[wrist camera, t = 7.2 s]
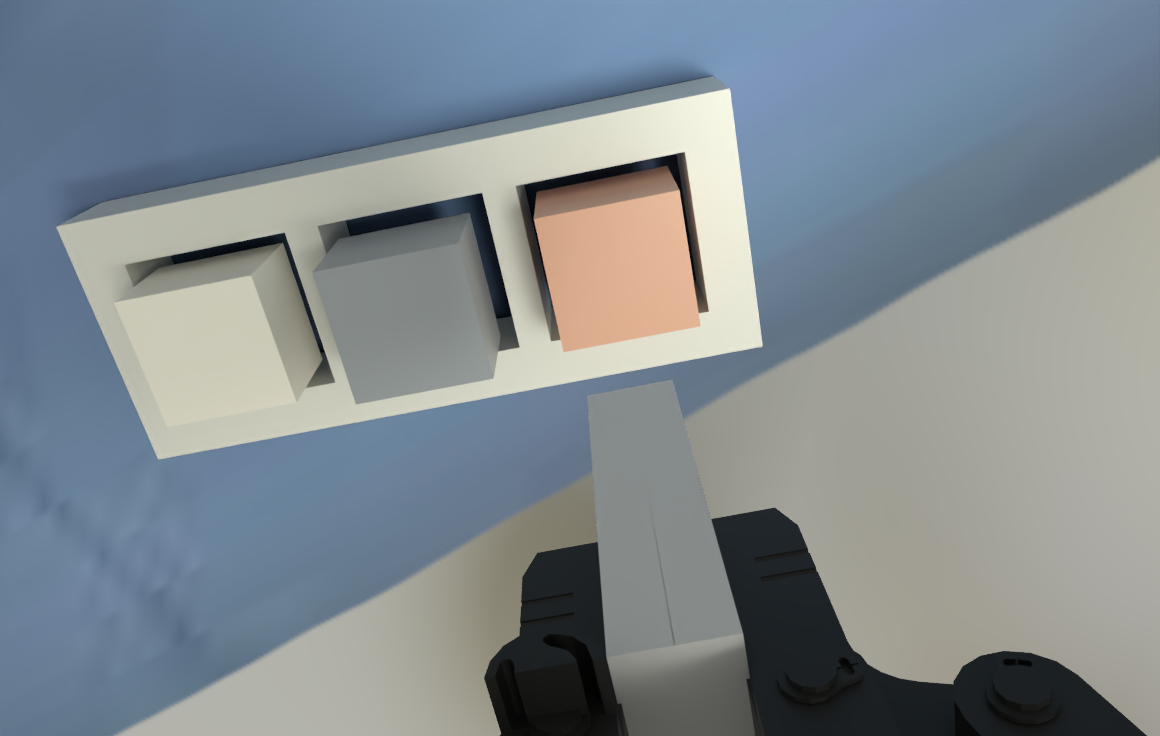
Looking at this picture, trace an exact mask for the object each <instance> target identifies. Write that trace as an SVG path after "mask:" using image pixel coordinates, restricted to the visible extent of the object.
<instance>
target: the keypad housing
mask: <svg viewBox="0 0 1160 736" xmlns="http://www.w3.org/2000/svg"><path fill="white" fill-rule="evenodd" d="M672 154H677V160H678V166H679V173H680V179H681V186H682V192H683V199H684V205H685V212H686V218H687V225H688V231H689V238H690V244H691V251H692V257H693V264H694V270H695V276H696V281H694V287H695V293H696V300H697V306H698V312H699V319H700V325H701V326H700V327H694V328H689V329H684V330H678V331H673V332H668V333H663V334H657V335H652V336H647V337H641V338H636V339H631V340H626V341H620V342H615V343H610V344H605V345H599V346H594V347H589V348H583V349H578V350H573V351H568V352H563V348H562V343H561V339H560V334H559V330H558V325H557V321H556V316H555V312H554V308H552V307H551V302H550V298H549V293H548V289H547V284H546V280H545V275H544V271H543V266H542V262H541V257H540V253H539V249H538V244H537V240H536V235H535V231H534V226H533V222H532V217H531V213H530V208H529V204H528V199H527V195H526V190H525V186H524V184H528V183H533V182H538V181H543V180H548V179H553V178H558V177H563V176H568V175H573V174H578V173H583V172H588V171H593V170H598V169H603V168H608V167H613V166H618V165H623V164H628V163H632V162H637V161H642V160H647V159H652V158H657V157H662V156H667V155H672ZM479 193H482V194H483V198H484V203H485V207H486V211H487V215H488V219H489V223H490V227H491V231H492V235H493V240H494V244H495V248H496V252H497V256H498V260H499V264H500V268H501V272H502V277H503V281H504V285H505V289H506V293H507V297H508V301H509V305H510V309H511V314H512V316H510V317H505V318H500V319H496V320H497V324H498V328H499V332H500V343H499V349H498V355H497V361H496V367H495V373H494V379H489V380H484V381H478V382H473V383H468V384H462V385H457V386H452V387H447V388H441V389H436V390H431V391H425V392H420V393H415V394H409V395H404V396H399V397H393V398H388V399H383V400H378V401H372V402H367V403H362V404H356V403H355V400H354V397H353V394H352V391H351V388H350V385H349V382H348V379H347V376H346V373H345V370H344V367H343V364H342V361H341V358H340V355H339V352H338V349H337V346H336V343H335V340H334V337H333V334H332V331H331V328H330V325H329V322H328V319H327V316H326V312H325V309H324V306H323V303H322V300H321V297H320V294H319V291H318V288H317V285H316V282H315V279H314V276H313V273H312V272H313V271H314V269H315V268H316V267H317V266H318V264H319V263H320V262H321V260H322V259H323V258H324V257H325V255H326V254H327V253H328V252H329V250H330V249H331V248H332V247H333V245H334V244H335V243H336V242H337V240H338V239H340V238H345V237H350V234H349V231H348V227H347V224H346V221H345V220H350V219H354V218H359V217H364V216H369V215H374V214H379V213H384V212H389V211H394V210H399V209H404V208H409V207H414V206H419V205H424V204H429V203H434V202H439V201H444V200H449V199H454V198H459V197H464V196H469V195H474V194H479ZM56 228H57V230H58V232H59V234H60V237H61V239H62V241H63V243H64V246H65V248H66V250H67V253H68V255H69V257H70V259H71V262H72V264H73V266H74V269H75V271H76V273H77V275H78V278H79V280H80V282H81V284H82V287H83V289H84V291H85V294H86V296H87V298H88V300H89V303H90V305H91V307H92V310H93V312H94V314H95V316H96V319H97V321H98V323H99V325H100V328H101V330H102V332H103V335H104V337H105V339H106V341H107V344H108V346H109V348H110V350H111V353H112V355H113V357H114V360H115V362H116V364H117V366H118V369H119V371H120V373H121V376H122V378H123V380H124V382H125V385H126V387H127V389H128V391H129V394H130V396H131V398H132V401H133V403H134V405H135V407H136V410H137V412H138V414H139V417H140V419H141V421H142V423H143V426H144V428H145V430H146V432H147V435H148V437H149V439H150V442H151V444H152V446H153V448H154V451H155V453H156V455H157V457H158V459H163V458H169V457H174V456H179V455H185V454H190V453H196V452H201V451H206V450H212V449H217V448H222V447H228V446H233V445H238V444H244V443H249V442H254V441H260V440H265V439H270V438H276V437H281V436H286V435H292V434H297V433H302V432H308V431H313V430H318V429H324V428H329V427H334V426H340V425H345V424H350V423H356V422H361V421H366V420H372V419H377V418H383V417H388V416H393V415H399V414H404V413H409V412H415V411H420V410H425V409H431V408H436V407H441V406H447V405H452V404H457V403H463V402H468V401H473V400H479V399H484V398H489V397H495V396H500V395H505V394H511V393H516V392H521V391H527V390H532V389H537V388H543V387H548V386H553V385H559V384H564V383H570V382H575V381H580V380H586V379H591V378H596V377H602V376H607V375H612V374H618V373H623V372H628V371H634V370H639V369H644V368H650V367H655V366H660V365H666V364H671V363H676V362H682V361H687V360H692V359H698V358H703V357H708V356H714V355H719V354H724V353H730V352H735V351H740V350H746V349H751V348H756V347H762V346H763V345H762V338H761V330H760V322H759V314H758V306H757V298H756V290H755V283H754V275H753V267H752V259H751V251H750V243H749V235H748V228H747V220H746V212H745V204H744V196H743V188H742V180H741V173H740V165H739V157H738V149H737V141H736V133H735V125H734V117H733V110H732V102H731V94H730V88H729V87H727V86H726V85H725V84H723V83H722V82H721V81H720V80H718V79H717V78H716V77H715V76H711V77H706V78H701V79H696V80H692V81H687V82H682V83H677V84H672V85H667V86H663V87H658V88H653V89H648V90H643V91H638V92H633V93H629V94H624V95H619V96H614V97H609V98H604V99H600V100H595V101H590V102H585V103H580V104H575V105H570V106H566V107H561V108H556V109H551V110H546V111H541V112H536V113H532V114H527V115H522V116H517V117H512V118H507V119H503V120H498V121H493V122H488V123H483V124H478V125H473V126H469V127H464V128H459V129H454V130H449V131H444V132H440V133H435V134H430V135H425V136H420V137H415V138H410V139H406V140H401V141H396V142H391V143H386V144H381V145H376V146H372V147H367V148H362V149H357V150H352V151H347V152H343V153H338V154H333V155H328V156H323V157H318V158H313V159H309V160H304V161H299V162H294V163H289V164H284V165H280V166H275V167H270V168H265V169H260V170H255V171H250V172H246V173H241V174H236V175H231V176H226V177H221V178H216V179H212V180H207V181H202V182H197V183H192V184H187V185H183V186H178V187H173V188H168V189H163V190H158V191H153V192H149V193H144V194H139V195H134V196H129V197H124V198H120V199H115V200H110V201H105V202H101V203H100V204H98V205H96V206H94V207H92V208H90V209H88V210H86V211H85V212H83V213H81V214H79V215H77V216H75V217H73V218H71V219H70V220H68V221H66V222H64V223H62V224H60V225H58V226H56ZM280 233H285V235H286V238H287V241H288V243H289V246H290V249H291V252H292V255H293V258H294V261H295V264H296V267H297V270H298V273H299V276H300V279H301V282H302V285H303V288H304V291H305V294H306V297H307V300H308V303H309V306H310V309H311V312H312V315H313V318H314V321H315V324H316V327H317V330H318V333H319V335H320V338H321V341H322V344H323V347H324V350H325V352H323V353H320V354H321V356H322V361H321V363H320V365H319V366H318V368H317V370H316V371H315V373H314V375H313V376H312V378H311V380H310V381H309V383H308V385H307V386H306V388H305V390H304V391H303V393H302V395H301V396H300V398H299V400H298V401H297V403H292V404H287V405H282V406H276V407H271V408H266V409H261V410H255V411H250V412H245V413H239V414H234V415H229V416H224V417H218V418H213V419H208V420H202V421H197V422H192V423H187V424H181V425H176V426H171V427H167V426H166V423H165V421H164V419H163V416H162V414H161V412H160V409H159V407H158V405H157V402H156V400H155V398H154V395H153V393H152V391H151V388H150V386H149V384H148V381H147V379H146V377H145V374H144V372H143V370H142V367H141V365H140V363H139V360H138V358H137V356H136V353H135V351H134V349H133V346H132V344H131V342H130V339H129V337H128V335H127V332H126V330H125V328H124V325H123V323H122V321H121V318H120V316H119V314H118V311H117V309H116V307H115V304H114V302H115V301H117V300H118V299H119V298H120V297H122V296H123V295H124V294H126V293H127V292H128V291H130V290H131V289H132V288H133V287H135V286H136V285H137V284H139V283H140V282H141V281H143V280H144V279H145V278H146V277H148V276H149V275H150V274H152V273H153V272H154V271H155V270H157V269H158V268H160V267H165V266H170V265H174V262H173V259H172V257H171V255H176V254H181V253H186V252H191V251H196V250H201V249H206V248H211V247H216V246H220V245H225V244H230V243H235V242H240V241H245V240H250V239H255V238H260V237H265V236H270V235H275V234H280Z"/></svg>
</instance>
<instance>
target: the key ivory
mask: <svg viewBox="0 0 1160 736" xmlns="http://www.w3.org/2000/svg"><path fill="white" fill-rule="evenodd" d="M114 304H115V307H116V309H117V311H118V314H119V316H120V318H121V321H122V323H123V325H124V328H125V330H126V332H127V335H128V337H129V339H130V342H131V344H132V346H133V349H134V351H135V353H136V356H137V358H138V360H139V363H140V365H141V367H142V370H143V372H144V374H145V377H146V379H147V381H148V384H149V386H150V388H151V391H152V393H153V395H154V398H155V400H156V402H157V405H158V407H159V409H160V412H161V414H162V416H163V419H164V421H165V423H166V426H167V427H171V426H176V425H181V424H187V423H192V422H197V421H202V420H208V419H213V418H218V417H224V416H229V415H234V414H239V413H245V412H250V411H255V410H261V409H266V408H271V407H276V406H282V405H287V404H292V403H297V401H298V400H299V398H300V396H301V395H302V393H303V391H304V390H305V388H306V386H307V385H308V383H309V381H310V380H311V378H312V376H313V375H314V373H315V371H316V370H317V368H318V366H319V365H320V363H321V361H322V356H321V354H320V351H319V348H318V345H317V342H316V339H315V336H314V333H313V330H312V327H311V324H310V321H309V318H308V315H307V312H306V309H305V306H304V303H303V300H302V298H301V295H300V292H299V289H298V286H297V283H296V280H295V277H294V274H293V271H292V268H291V265H290V262H289V259H288V256H287V253H286V250H285V247H284V245H283V243H279V244H274V245H269V246H264V247H259V248H254V249H249V250H244V251H239V252H234V253H229V254H224V255H219V256H214V257H209V258H204V259H199V260H194V261H189V262H184V263H180V264H175V265H170V266H165V267H160V268H158V269H157V270H155V271H154V272H153V273H152V274H150V275H149V276H148V277H146V278H145V279H144V280H143V281H141V282H140V283H139V284H137V285H136V286H135V287H133V288H132V289H131V290H130V291H128V292H127V293H126V294H124V295H123V296H122V297H120V298H119V299H118V300H117V301H115V302H114Z"/></svg>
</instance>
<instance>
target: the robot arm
mask: <svg viewBox="0 0 1160 736" xmlns="http://www.w3.org/2000/svg"><path fill="white" fill-rule="evenodd" d="M587 402H588V416H589V429H590V443H591V456H592V470H593V482H594V495H595V509H596V521H597V522H596V523H597V537H598V542H596V543H590V544H584V545H579V546H573V547H568V548H562V549H557V550H551V551H546V552H541V553H537V555H536V556H535V558H534V559H533V561H532V563H531V564H530V566H529V568H528V569H527V571H526V572H525V574H524V576H523V579H522V580H523V581H522V600H521V602H522V606H521V618H520V623H521V627H520V636H519V637H517V638H516V639H514V640H512V641H511V642H509V643H507V644H506V645H504V646H503V647H502V648H501V650H500V651H499V652H498V653H497V654H496V655H495V656H494V658H492V660H491V661H490V663H489V666H488V669H487V672H486V674H485V678H484V679H485V682H486V685H487V688H488V692H489V695H490V698H491V701H492V705H493V708H494V711H495V714H496V718H497V721H498V724H499V727H500V730H501V735H500V736H1147V735H1145V734H1144V733H1143V732H1142V731H1141V730H1140V729H1138V728H1137V727H1136V726H1135V725H1134V724H1133V723H1132V722H1131V721H1130V720H1128V719H1127V718H1126V717H1125V716H1124V715H1123V714H1122V713H1120V712H1119V711H1118V710H1117V709H1116V708H1114V706H1112V705H1111V704H1110V703H1109V702H1108V701H1106V700H1105V699H1104V698H1103V697H1102V696H1101V695H1100V694H1098V692H1096V691H1095V690H1094V689H1093V688H1092V687H1091V686H1090V685H1089V684H1087V683H1086V682H1085V681H1084V680H1083V679H1082V678H1080V677H1079V676H1078V675H1077V674H1075V673H1074V672H1072V671H1070V670H1069V669H1067V668H1066V667H1064V666H1063V665H1061V664H1060V663H1058V662H1057V661H1054V660H1051V659H1048V658H1044V657H1041V656H1038V655H1035V654H1032V653H1024V652H1009V651H1002V652H997V653H992V654H987V655H983V656H979V657H978V658H976V659H974V660H973V661H971V662H969V663H968V664H966V665H964V666H963V667H962V669H961V670H960V672H959V674H958V675H957V677H956V679H955V680H954V685H952V684H940V683H928V682H917V681H911V680H905V679H899V678H896V677H893V676H891V675H888V674H885V673H882V672H880V671H878V670H877V669H874V668H873V667H871V666H870V665H868V664H867V663H866V662H865V660H864V659H863V658H862V656H861V655H859V654H858V653H856V652H855V651H853V649H852V648H851V646H850V645H849V643H848V641H847V639H846V637H845V634H844V632H843V630H842V627H841V625H840V623H839V620H838V618H837V616H836V614H835V611H834V609H833V606H832V604H831V602H830V599H829V597H828V595H827V592H826V590H825V588H824V585H823V583H822V581H821V578H820V576H819V574H818V572H817V571H816V567H815V564H814V562H813V560H812V557H811V555H810V553H808V548H807V546H806V544H805V541H804V539H803V536H802V534H801V532H800V529H799V527H798V525H797V524H795V523H794V522H793V521H792V520H790V519H789V518H788V517H786V516H785V515H784V514H782V513H781V512H780V511H778V510H777V509H776V508H771V509H765V510H760V511H754V512H749V513H743V514H737V515H732V516H727V517H721V518H715V519H711V517H710V513H709V510H708V506H707V502H706V499H705V495H704V492H703V488H702V485H701V481H700V477H699V474H698V470H697V467H696V463H695V460H694V456H693V453H692V449H691V445H690V442H689V438H688V434H687V431H686V427H685V424H684V420H683V416H682V413H681V409H680V406H679V402H678V398H677V395H676V391H675V388H674V384H673V381H672V380H668V381H662V382H657V383H652V384H646V385H641V386H636V387H631V388H625V389H620V390H615V391H609V392H604V393H599V394H594V395H588V396H587Z"/></svg>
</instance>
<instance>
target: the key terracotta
mask: <svg viewBox="0 0 1160 736" xmlns="http://www.w3.org/2000/svg"><path fill="white" fill-rule="evenodd" d="M534 222H535V227H536V231H537V236H538V240H539V245H540V249H541V254H542V258H543V263H544V267H545V272H546V276H547V281H548V285H549V290H550V294H551V298H552V303H553V307H554V312H555V316H556V321H557V325H558V330H559V334H560V339H561V343H562V348H563V352H568V351H573V350H578V349H583V348H589V347H594V346H599V345H605V344H610V343H615V342H620V341H626V340H631V339H636V338H641V337H647V336H652V335H657V334H663V333H668V332H673V331H678V330H684V329H689V328H694V327H700V326H701V325H700V319H699V312H698V306H697V300H696V293H695V287H694V280H693V274H692V267H691V261H690V255H689V248H688V242H687V235H686V229H685V222H684V216H683V209H682V203H681V197H680V190H679V188H678V186H677V184H676V182H675V180H674V178H673V176H672V174H671V172H670V170H669V168H668V166H663V167H658V168H653V169H648V170H643V171H638V172H633V173H628V174H623V175H618V176H613V177H608V178H603V179H598V180H593V181H588V182H583V183H578V184H573V185H568V186H563V187H558V188H553V189H548V190H543V191H539V192H537V194H536V204H535V213H534Z"/></svg>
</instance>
